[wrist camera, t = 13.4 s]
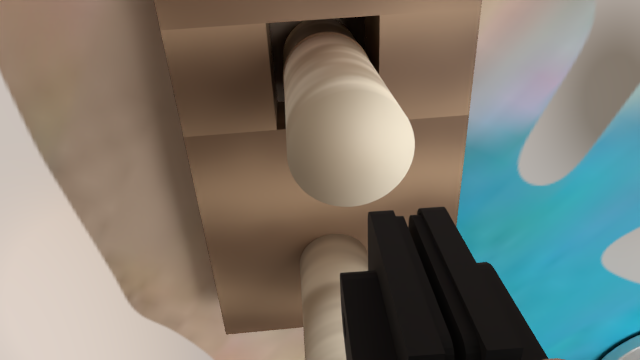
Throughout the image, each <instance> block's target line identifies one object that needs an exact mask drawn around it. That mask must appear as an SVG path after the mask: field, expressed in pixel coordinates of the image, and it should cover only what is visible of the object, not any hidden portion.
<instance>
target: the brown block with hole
mask: <svg viewBox="0 0 640 360" xmlns="http://www.w3.org/2000/svg"><path fill="white" fill-rule="evenodd" d="M154 4H155V8H156V13H157V17H158V22H159V27H160V31H161V36H162V41H163V45H164V50H165V54H166V59H167V64H168V68H169V73H170V77H171V82H172V87H173V91H174V96H175V100H176V105H177V110H178V114H179V119H180V123H181V128H182V133H183V137H184V142H185V146H186V151H187V156H188V160H189V165H190V170H191V174H192V179H193V183H194V188H195V193H196V197H197V202H198V206H199V211H200V216H201V220H202V225H203V229H204V234H205V239H206V243H207V248H208V252H209V257H210V262H211V266H212V271H213V276H214V280H215V285H216V289H217V294H218V299H219V303H220V308H221V312H222V317H223V322H224V326H225V331H226V334H236V333H246V332H257V331H267V330H278V329H288V328H299V327H304V345H305V360H346V352H345V343H344V335H343V324H342V312H341V294H340V273H345V272H359V271H368V212H373V211H387V210H393V211H394V213H395V215H396V216H404V218H405V221H406V223H407V226H408V225H409V216H410V215H417V211H418V209H419V208H429V207H445V208H446V210H447V211H448V213H449V215H450V217H451V218H452V220H453V222H454V224H455V226H456V223H457V215H458V206H459V197H460V188H461V180H462V171H463V162H464V153H465V145H466V136H467V127H468V118H469V109H470V101H471V92H472V83H473V74H474V66H475V57H476V48H477V39H478V30H479V22H480V13H481V4H482V0H154ZM362 16H365V53H366V54H367V56H368V58H369V61H370V62H371V64H372V65H373V67H374V68H375V70H376V71H377V73H378V74H379V76H380V77H381V79H382V80H383V82H384V83H385V85H386V86H387V88H388V89H389V91H390V92H391V94H392V95H393V97H394V98H395V100H396V101H397V103H398V104H399V106H400V107H401V109H402V110H403V112H404V113H405V115H406V116H407V118H408V120H409V122H410V124H411V126H412V129H413V132H414V138H415V150H414V156H413V160H412V163H411V165H410V168H409V170H408V172H407V173H406V175H405V177H404V178H403V179H402V181H401V182H400V183H399V184H398V185H397V186H396V187H395V188H394V189H393V190H392V191H391V192H389V193H388V194H386V195H385V196H383V197H382V198H380V199H378V200H376V201H373V202H371V203H368V204H364V205H360V206H353V207H340V206H333V205H329V204H326V203H322V202H320V201H318V200H316V199H314V198H313V197H311V196H309V195H308V194H307V193H306V192H304V191H303V190H302V189H301V188H300V187H299V185H298V184H297V183H296V181H295V180H294V178H293V176H292V174H291V172H290V169H289V166H288V161H287V145H286V118H285V102H277V94H276V85H275V75H274V65H273V56H272V46H271V36H270V26H269V23H275V22H289V21H304V20H318V19H333V18H347V17H362Z"/></svg>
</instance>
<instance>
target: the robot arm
mask: <svg viewBox="0 0 640 360" xmlns="http://www.w3.org/2000/svg"><path fill="white" fill-rule="evenodd" d="M340 294H341V312H342V324H343V335H344V343H345V352H346V360H564V359H558V358H555V359H548V357H547V356H546V354H545V352H544V351H543V349H542V347H541V346H540V344H539V342H538V341H537V339H536V337H535V336H534V334H533V332H532V331H531V329H530V327H529V326H528V324H527V322H526V321H525V319H524V317H523V316H522V314H521V312H520V311H519V309H518V307H517V306H516V304H515V302H514V301H513V299H512V298H511V296H510V294H509V293H508V291H507V289H506V288H505V286H504V284H503V283H502V281H501V279H500V278H499V276H498V274H497V273H496V271H495V269H494V268H493V267H492V265H491V264H489V263H487V262H483V263H476V261H475V260H474V258H473V256H472V254H471V252H470V251H469V249H468V247H467V245H466V244H465V242H464V240H463V238H462V236H461V235H460V233H459V231H458V229H457V227H456V226H455V224H454V222H453V220H452V218H451V217H450V215H449V213H448V211H447V210H446V208H445V207H429V208H419V209H418V211H417V215H410V216H409V225H408V226H407V223H406V221H405V218H404V216H396V215H395V213H394V211H393V210H387V211H373V212H368V271H359V272H345V273H340ZM602 360H640V335H638V336H635V337H633V338H631V339H629V340H628V341H626V342H624V343H622V344H621V345H619V346H617V347H616V348H615V349H613V350H612V351H611V352H609V353H608V354H607V355H606V356H605V357H604V358H603V359H602Z"/></svg>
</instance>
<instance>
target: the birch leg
mask: <svg viewBox="0 0 640 360" xmlns="http://www.w3.org/2000/svg"><path fill="white" fill-rule="evenodd" d="M283 65H284V68H283V85H284V92H285V118H286V145H287V161H288V166H289V169H290V172H291V174H292V176H293V178H294V180H295V181H296V183H297V184H298V185H299V187H300V188H301V189H302V190H303V191H304V192H306V193H307V194H308V195H309V196H311V197H313V198H314V199H316V200H318V201H320V202H322V203H326V204H329V205H333V206H340V207H353V206H360V205H364V204H368V203H371V202H373V201H376V200H378V199H380V198H382V197H383V196H385V195H386V194H388V193H389V192H391V191H392V190H393V189H394V188H395V187H396V186H397V185H398V184H399V183H400V182H401V181H402V179H403V178H404V177H405V175H406V173H407V172H408V170H409V168H410V165H411V163H412V160H413V156H414V150H415V138H414V132H413V129H412V126H411V124H410V122H409V120H408V118H407V116H406V115H405V113H404V112H403V110H402V109H401V107H400V106H399V104H398V103H397V101H396V100H395V98H394V97H393V95H392V94H391V92H390V91H389V89H388V88H387V86H386V85H385V83H384V82H383V80H382V79H381V77H380V76H379V74H378V73H377V71H376V70H375V68H374V67H373V65H372V64H371V62H370V61H369V58H368V56H367V54H366V53H365V51H364V50H363V48H362V47H361V46H360V45H359V44H358V42H357V41H356V40H355V38H354V37H353V35H352V34H351V32H350V31H349V30H348V29H347V28H346V27H345V26H344V25H343V24H342V23H340V22H339V21H337V20H334V19H318V20H305V21H303V22H301V23H300V24H298V25H297V26H296V27H295V28H294V29H293V30H292V31H291V33H290V34H289V36H288V37H287V39H286V42H285V45H284V50H283Z"/></svg>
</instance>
